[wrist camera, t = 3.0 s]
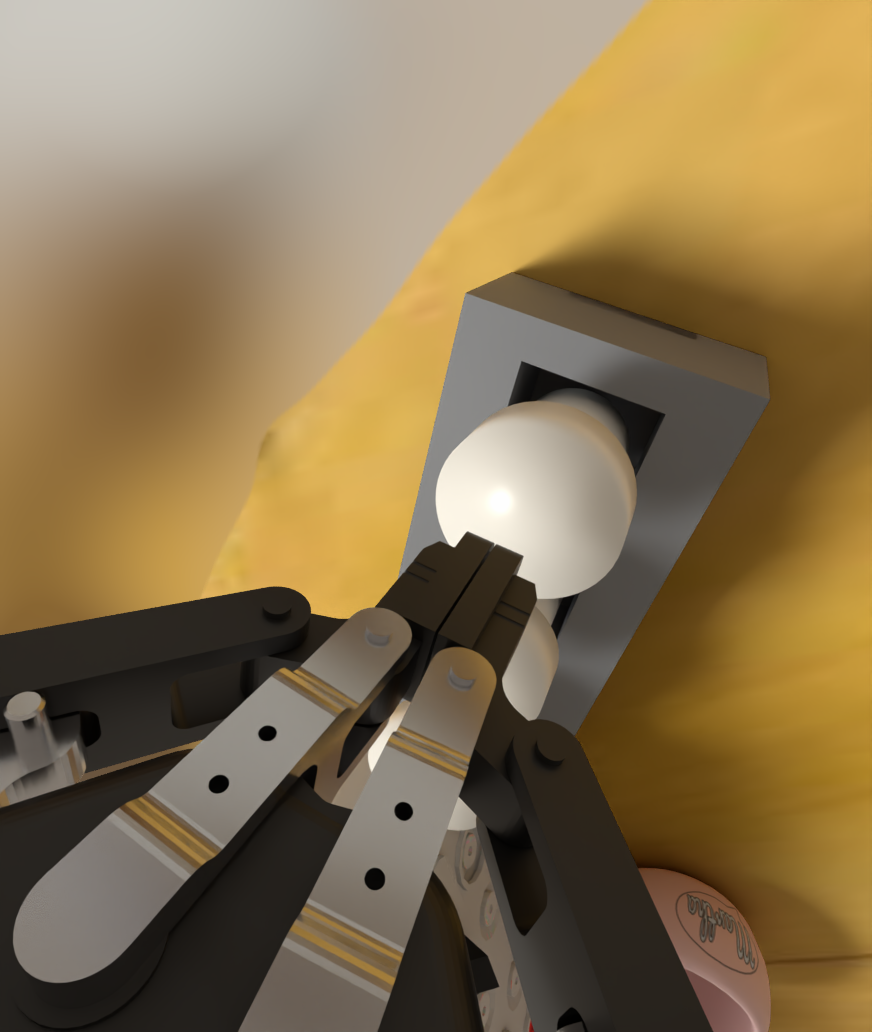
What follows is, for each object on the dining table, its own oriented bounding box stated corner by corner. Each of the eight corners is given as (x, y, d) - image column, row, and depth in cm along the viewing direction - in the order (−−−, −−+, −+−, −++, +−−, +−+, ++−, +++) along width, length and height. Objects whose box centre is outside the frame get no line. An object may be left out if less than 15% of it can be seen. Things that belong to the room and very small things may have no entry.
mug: (802, 910, 34) (812, 1031, 29) (721, 976, 39) (718, 1087, 34) (596, 803, 36) (574, 897, 32) (548, 879, 42) (523, 969, 37)
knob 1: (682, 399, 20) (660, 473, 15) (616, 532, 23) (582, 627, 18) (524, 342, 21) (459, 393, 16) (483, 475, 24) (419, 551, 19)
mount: (766, 357, 22) (770, 399, 18) (564, 722, 34) (540, 795, 30) (511, 272, 24) (465, 293, 20) (409, 644, 37) (368, 701, 33)
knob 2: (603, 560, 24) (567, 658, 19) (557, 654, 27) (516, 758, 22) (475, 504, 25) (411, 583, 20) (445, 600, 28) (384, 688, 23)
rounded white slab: (602, 984, 45) (536, 1359, 31) (508, 954, 49) (410, 1276, 35) (522, 688, 35) (364, 1054, 20) (408, 678, 38) (207, 981, 24)
